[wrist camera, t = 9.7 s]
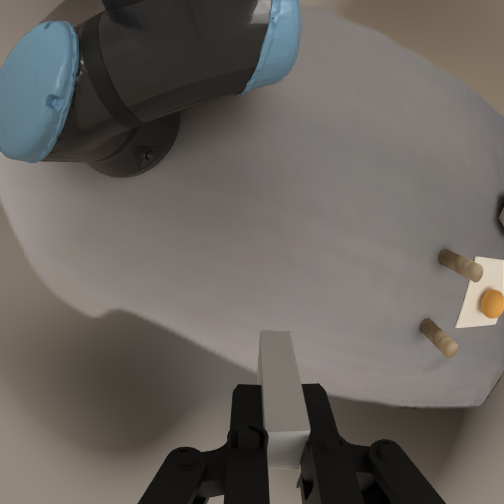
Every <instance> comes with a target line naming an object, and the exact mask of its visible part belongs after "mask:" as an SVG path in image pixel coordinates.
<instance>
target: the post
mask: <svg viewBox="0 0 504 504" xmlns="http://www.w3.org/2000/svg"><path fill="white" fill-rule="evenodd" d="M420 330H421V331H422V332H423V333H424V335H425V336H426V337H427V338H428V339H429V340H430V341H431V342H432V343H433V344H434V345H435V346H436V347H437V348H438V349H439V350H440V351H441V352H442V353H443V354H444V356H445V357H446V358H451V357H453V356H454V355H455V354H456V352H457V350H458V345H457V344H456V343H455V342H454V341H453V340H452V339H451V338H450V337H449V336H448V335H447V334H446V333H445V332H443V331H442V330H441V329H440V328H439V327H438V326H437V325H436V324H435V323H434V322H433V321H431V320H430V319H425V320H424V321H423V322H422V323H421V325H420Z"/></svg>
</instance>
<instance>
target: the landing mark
mask: <svg viewBox="0 0 504 504" xmlns="http://www.w3.org/2000/svg"><path fill="white" fill-rule="evenodd" d="M474 262H475V263H478V264H480V265H482V267H483V276H482V278H481V279H480V281H478V282H476V283H475V282H473V281H471V280H469V284H468V287H467V291H466V294H465V298H464V301H463V304H462V307H461V311H460V314H459V317H458V320H457V322H456V325H455V328H462V327H474V326H485V325H494V324H496V322H497V319H498V317H497V318H493V319H491V318H488V317H486V316H485V315H484V314H483V312H482V309H481V301H482V298H483V296H484V295H485V294H486V293H487V292H488V291H490V290H498V291H500V292H501V293H502V294H503V296H504V260H500V259H493V258H486V257H478V256H475V259H474Z"/></svg>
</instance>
